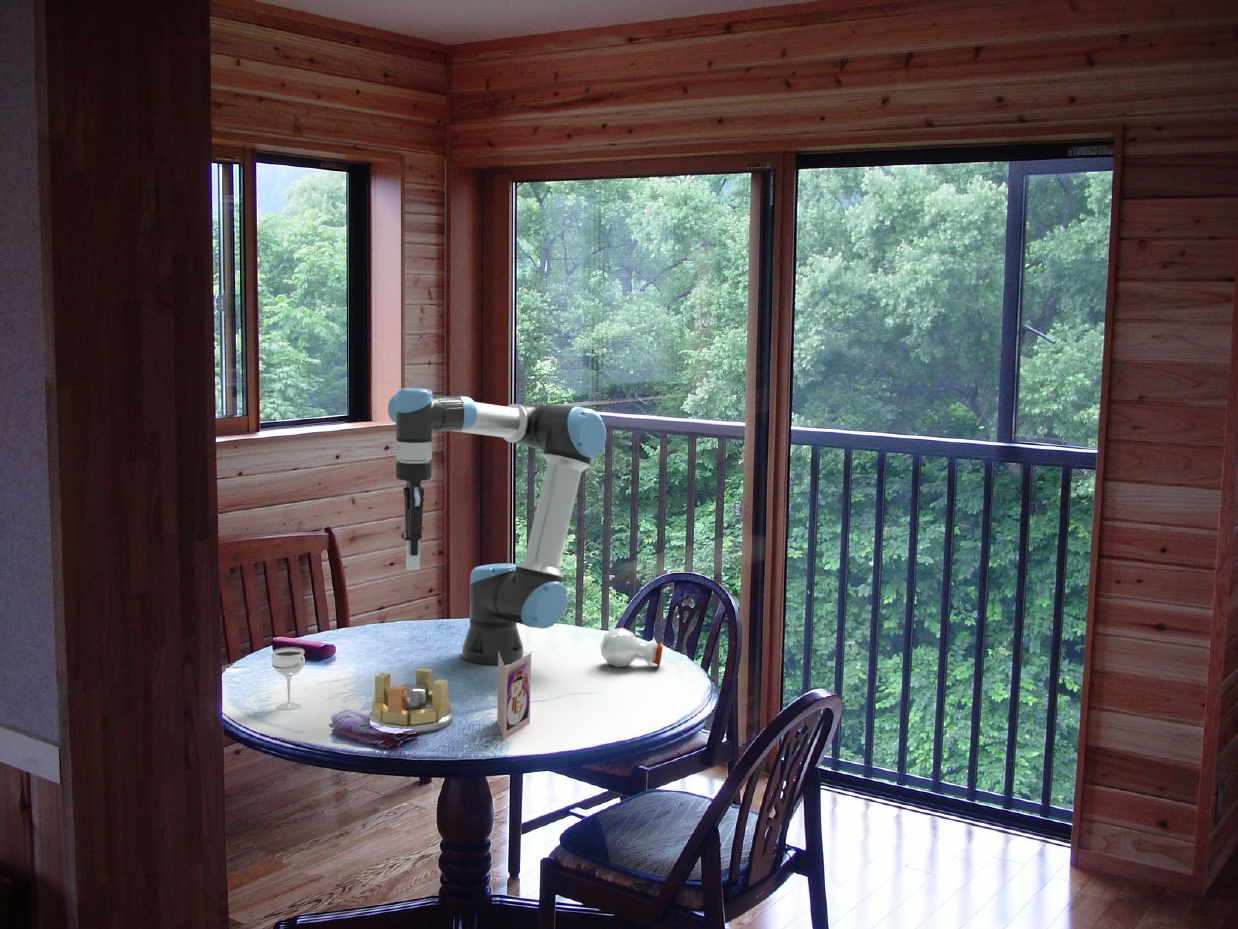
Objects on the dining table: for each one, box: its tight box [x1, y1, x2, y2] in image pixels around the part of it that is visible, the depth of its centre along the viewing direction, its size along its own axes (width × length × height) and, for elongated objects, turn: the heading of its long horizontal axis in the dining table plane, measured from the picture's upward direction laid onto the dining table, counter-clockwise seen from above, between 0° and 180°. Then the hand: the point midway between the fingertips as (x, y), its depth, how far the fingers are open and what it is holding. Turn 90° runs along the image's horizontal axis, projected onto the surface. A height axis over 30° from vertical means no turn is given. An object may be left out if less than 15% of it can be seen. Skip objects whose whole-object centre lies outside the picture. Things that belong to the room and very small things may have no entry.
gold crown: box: [371, 667, 451, 725], centre depth 248 cm, size 15×15×7 cm
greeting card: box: [496, 651, 532, 740], centre depth 245 cm, size 11×7×15 cm, turn 157°
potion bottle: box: [599, 627, 664, 668], centre depth 292 cm, size 9×10×15 cm
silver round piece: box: [368, 683, 453, 735], centre depth 248 cm, size 17×17×7 cm
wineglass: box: [271, 647, 306, 711], centre depth 255 cm, size 7×7×12 cm
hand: (413, 569), depth 258 cm, fingers closed
